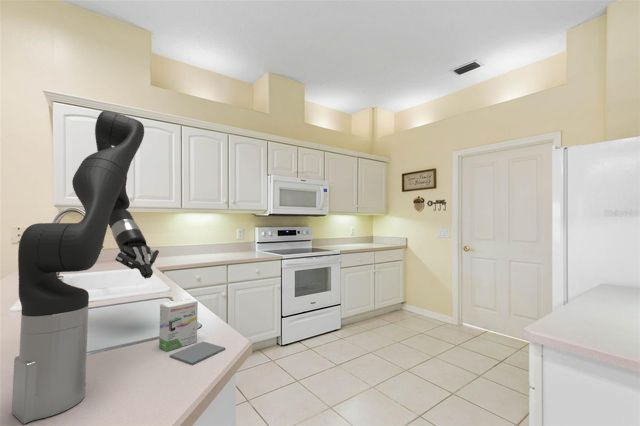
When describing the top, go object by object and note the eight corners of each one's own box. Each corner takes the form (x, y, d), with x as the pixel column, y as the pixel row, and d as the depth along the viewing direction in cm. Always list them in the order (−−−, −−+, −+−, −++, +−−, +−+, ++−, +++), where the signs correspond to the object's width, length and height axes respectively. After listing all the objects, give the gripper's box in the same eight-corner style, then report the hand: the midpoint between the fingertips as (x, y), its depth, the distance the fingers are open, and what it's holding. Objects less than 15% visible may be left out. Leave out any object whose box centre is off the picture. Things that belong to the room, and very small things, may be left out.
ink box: (166, 352, 75) (167, 306, 76) (158, 347, 78) (159, 303, 79) (197, 342, 82) (198, 300, 82) (189, 338, 85) (190, 297, 85)
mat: (192, 365, 68) (192, 363, 68) (169, 357, 72) (169, 355, 72) (225, 349, 77) (225, 347, 77) (203, 343, 81) (203, 341, 81)
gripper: (110, 227, 88) (131, 271, 81) (153, 227, 99) (174, 265, 93) (101, 244, 90) (120, 288, 83) (144, 243, 102) (164, 281, 95)
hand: (149, 276), depth 88 cm, fingers closed
